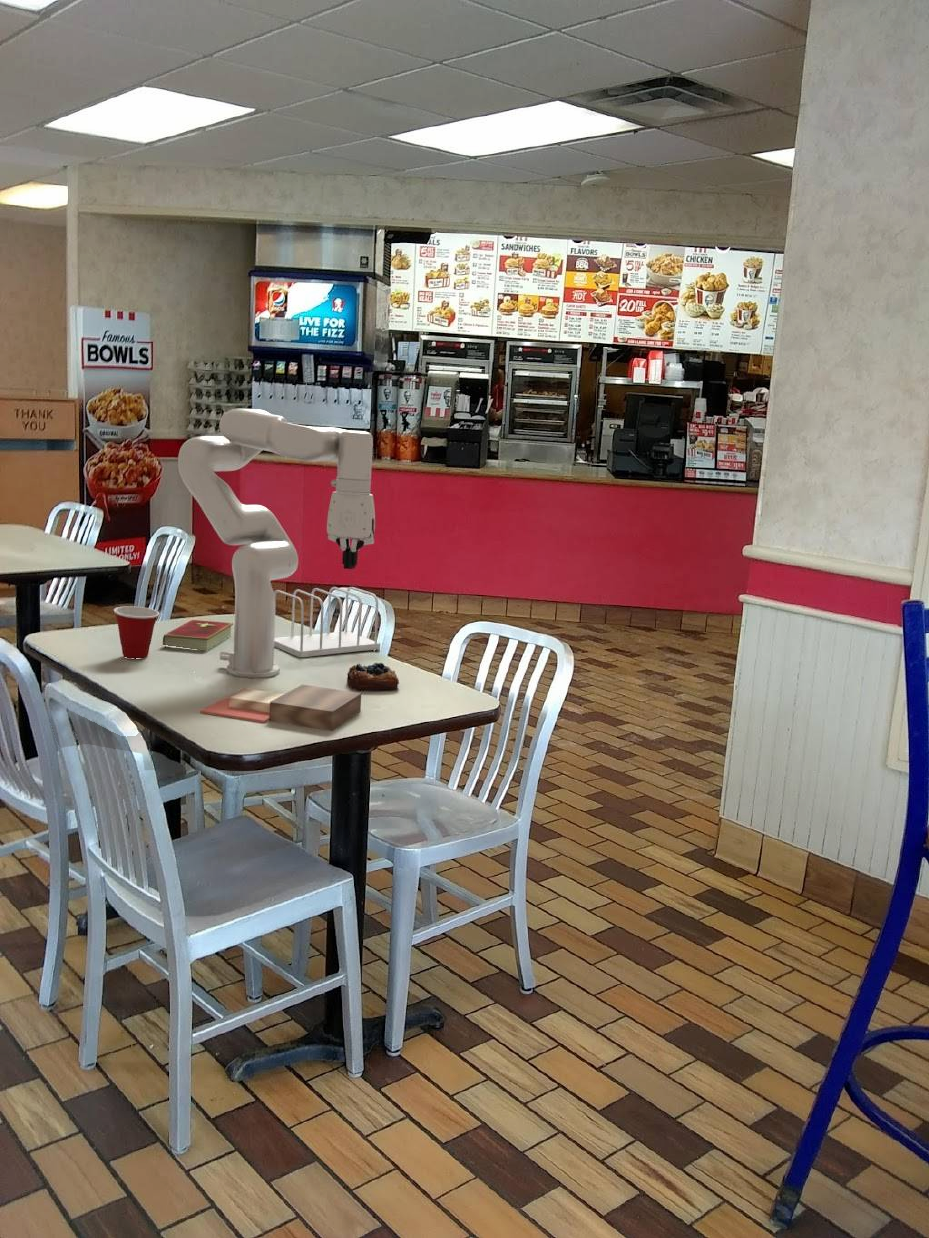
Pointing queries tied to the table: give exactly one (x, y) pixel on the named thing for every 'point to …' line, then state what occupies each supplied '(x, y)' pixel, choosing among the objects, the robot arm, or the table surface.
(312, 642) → the file sorter
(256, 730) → the table surface
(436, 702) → the table surface
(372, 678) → the pastry
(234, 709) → the mat
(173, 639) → the hardcover book
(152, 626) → the plastic cup
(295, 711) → the square wooden slab
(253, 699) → the light wooden block
